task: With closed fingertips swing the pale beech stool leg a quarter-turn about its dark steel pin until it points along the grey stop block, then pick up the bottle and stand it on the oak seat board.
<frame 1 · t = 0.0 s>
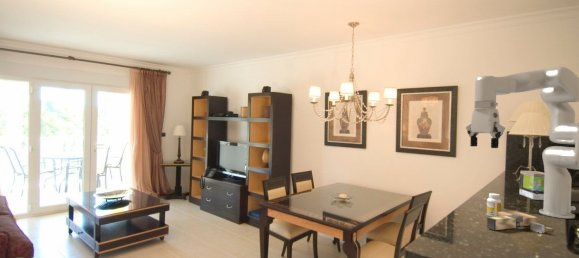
hand: (483, 147, 131), 31 cm above the kitchen counter, fingers open, 9 cm apart
tea box: (535, 197, 183), on the kitchen counter
leg: (505, 222, 124), point 2 cm above the kitchen counter, hinge at 0.0°
stop block: (537, 231, 120), on the kitchen counter
pivot pin: (516, 227, 125), on the kitchen counter
supplement bottle: (493, 216, 141), on the kitchen counter
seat: (517, 221, 133), on the kitchen counter
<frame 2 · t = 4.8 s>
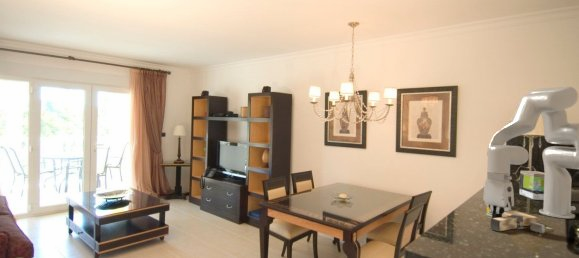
hand: (496, 222, 126), 1 cm above the kitchen counter, fingers closed
leg: (507, 222, 123), point 2 cm above the kitchen counter, hinge at 6.4°, touching gripper
everything else where it was.
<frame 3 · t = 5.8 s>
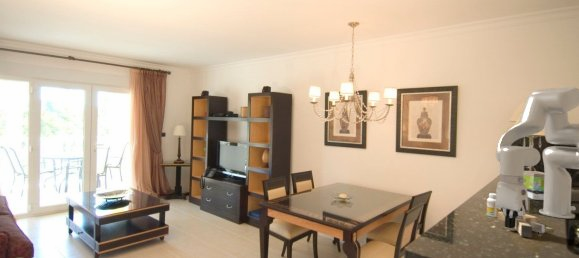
hand: (509, 227, 121), 1 cm above the kitchen counter, fingers closed
leg: (521, 225, 120), point 2 cm above the kitchen counter, hinge at 48.4°, touching gripper
everything else where it was.
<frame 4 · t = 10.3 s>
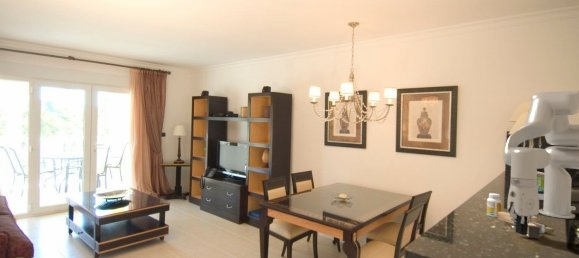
hand: (521, 233, 114), 1 cm above the kitchen counter, fingers closed
leg: (524, 225, 120), point 2 cm above the kitchen counter, hinge at 58.3°, touching gripper
everything else where it was.
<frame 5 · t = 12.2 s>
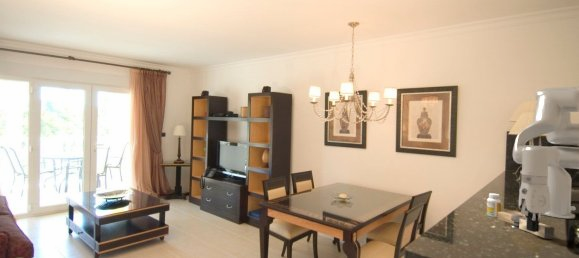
hand: (532, 230, 115), 2 cm above the kitchen counter, fingers closed
leg: (530, 225, 119), point 2 cm above the kitchen counter, hinge at 80.1°, touching gripper
everything else where it was.
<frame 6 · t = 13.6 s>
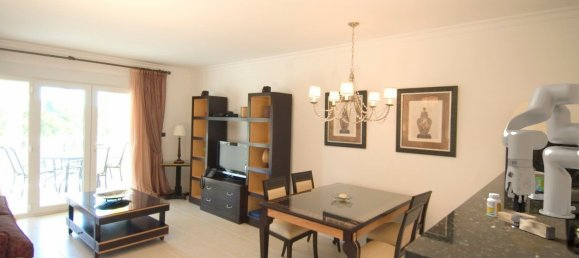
hand: (518, 211, 119), 8 cm above the kitchen counter, fingers closed
leg: (531, 225, 119), point 2 cm above the kitchen counter, hinge at 82.3°
everything else where it was.
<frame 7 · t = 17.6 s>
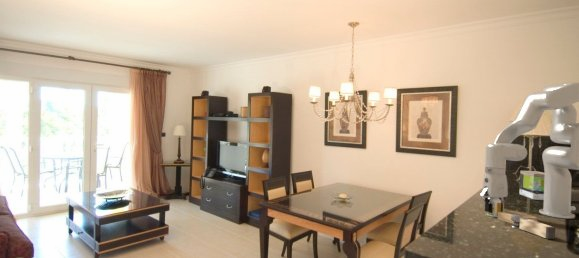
hand: (493, 211, 141), 2 cm above the kitchen counter, fingers closed on supplement bottle, 5 cm apart
supplement bottle: (493, 216, 141), on the kitchen counter, touching gripper
everything else where it was.
when the fingers open (6 cm above the kitchen counter, at t = 21.7 s): supplement bottle drops 1 cm, resting on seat.
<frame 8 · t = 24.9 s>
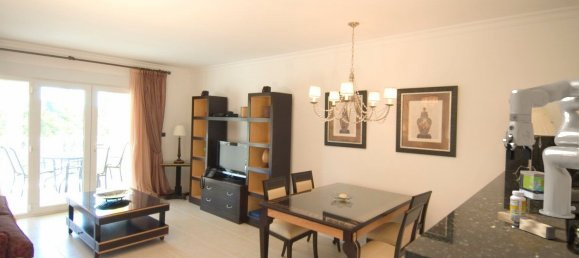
hand: (519, 159, 133), 26 cm above the kitchen counter, fingers open, 9 cm apart
supplement bottle: (517, 214, 133), point 3 cm above the kitchen counter, touching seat
everything else where it was.
at the end: leg at +82° (first picture: +0°); supplement bottle inside the target area on the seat (0.2 cm from its centre), point 2.8 cm above the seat's base; supplement bottle tilted 0° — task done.
